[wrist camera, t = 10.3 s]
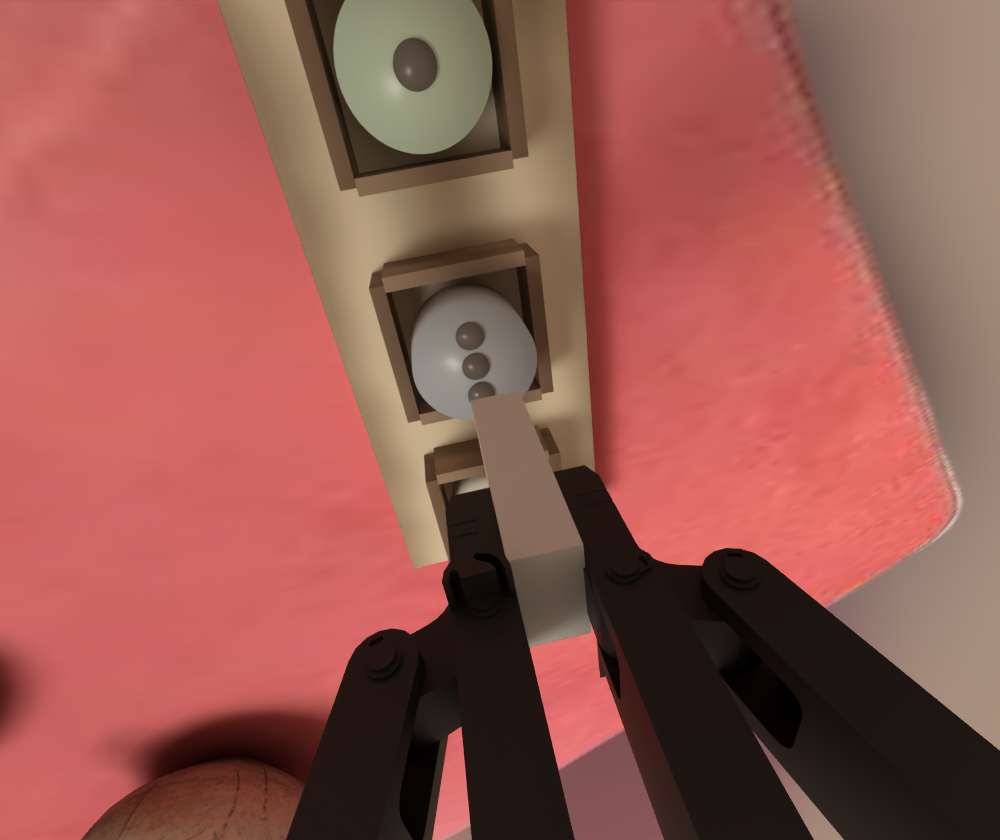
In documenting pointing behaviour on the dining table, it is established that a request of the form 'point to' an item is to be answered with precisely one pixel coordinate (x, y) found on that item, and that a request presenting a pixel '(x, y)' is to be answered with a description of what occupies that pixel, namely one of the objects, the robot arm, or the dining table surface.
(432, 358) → the button three
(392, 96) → the button one
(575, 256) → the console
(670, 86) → the dining table surface
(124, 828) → the cooking pot
